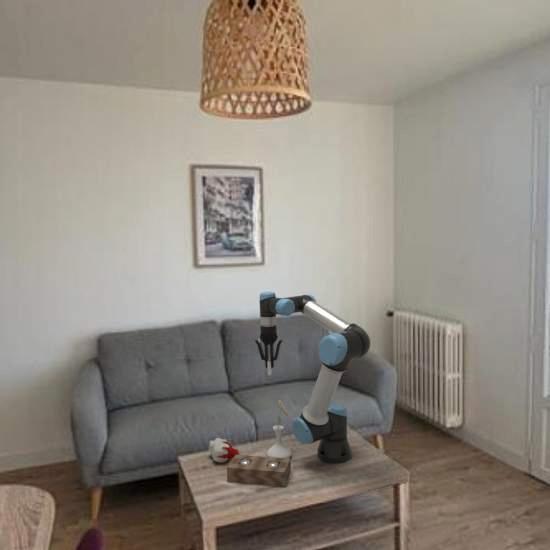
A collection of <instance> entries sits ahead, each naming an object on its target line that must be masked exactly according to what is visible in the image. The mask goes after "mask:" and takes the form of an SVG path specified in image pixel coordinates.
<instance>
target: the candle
mask: <svg viewBox="0 0 550 550" xmlns="http://www.w3.org/2000/svg"><path fill="white" fill-rule="evenodd" d="M208 442H209V444H208V445H209V446H208V452H209V453H210V454H211V456H212V460H213V461H214V462H216V463H219V464H224V463H227V462H229V460H232V459H233V458H234V456H235V455H240V452H239V449H238V448H234V447H233V446H232V445H231V443H230V442H228V441H227V439H225V438H224V439H223V438H220V437H216V438H214V440H210V441H208Z"/></svg>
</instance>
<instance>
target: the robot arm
mask: <svg viewBox="0 0 550 550" xmlns="http://www.w3.org/2000/svg"><path fill="white" fill-rule="evenodd" d="M296 313H301V314H303V315H305V316H307V318H309V319H310V320H312V321H314V322H315V323H316V324H318V325H320V326H321V327H323V329H325V330H327V331H328V332H331V334H328V335H325V336H324V337H322V339H321V340H320V342H319V343H318V349H317V350H318V351H317V352H319V353H318V356H319V359H320V364H321V368H320V371H319V372H318V373H319V374H318V377H317V379H316V382H315V384H314V386H313V389H312V390H313V391H312V393H311V396H310V399H309V401H308V403H307V405H306V406H304V407H303V408H302V410H301V413H300V416H297V417H295V418H294V419H293V420H292V424H291V428H292V432H293V435H294V436H295V437H294V438H295V439H297V441H298V442H299V443H300V444H303V445H311V444H313V443H315V442H317V441H318V442H319V444H318V447H317V458H319V459H320V460H321V461H323V462H327V463H331V464H332V463H334V464H337V463H338V464H339V463H344V462H347V461H349V460H351V458H352V448H351V446H350V443H349V441H348V414H347V412H348V411H347V408H346V407H345V405H342V404H339V403H333V402H332V401H333V399H334V396H335V394H336V392H337V388H338V386H339V384H340V383H339V382H340V380H341V377H342V375H343V373H345V372H347V371H348V370H349V367H350V364H351V363H352V361H354V360H357V359H361V358H363V357H365V356H366V355H367V354H368V353H369V351H370V349H371V338H370V336H369V333H367V331H366V330H365V329H364V328H363V327H361V326H359V325H358V324H356V323H351V322H348V321H347V320H345V319H343V318H342V317H340V316H339V315H337V314H335V313H334V312H332V311H331V310H329V309H328V308H325V307H324V306H322V305H320V304H319V303H318V302H317V301H316V299H315V297H314V296H313V295H312V294H302V295H296V296H295V295H294V296H288V297H277V296H276V293H275V292H274V291H262V292H260V293H259V320H260V321H259V322H260V323H259V324H260V329H259V330H260V335H259V338H256V339H255V340H254V342H255V343H256V345H257V348H258V352H259V356H260V360H262V361H264V362H265V363H264V364H265V365H264V366H265V368H266V369H267V376H272V374H273V368H274V366H275V362H274V361H277V360H278V359H279V353H280V348H281V344H282V343H283V339H280V337H279V336H278V333H277V329H278V328H277V315H278V316H283V317H289V316H291V315H292V314H296ZM262 343H263V344H264V345H262ZM275 343H277V344H276V349H275V350H274V346H275V345H274V344H275ZM263 346H264V349H263ZM269 357H270V358H269Z"/></svg>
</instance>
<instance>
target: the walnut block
mask: <svg viewBox="0 0 550 550" xmlns="http://www.w3.org/2000/svg"><path fill="white" fill-rule="evenodd" d="M244 459H248V460H250V465H242V464H240V461H241V460H244ZM270 462H277V463H278V467H268V464H269V463H270ZM291 464H292V461H291V458H275V457H268V456H259V455H249V454H248V455H247V454H239V455H235V456H234V458H231V461H230V462H229V463H228V465H227V466H226V479H227V480H226V481H227V482H228V483H229V482H230V483H239V484H250V485H263V486H271V487H273V486H274V487H283V488H285V487H286V485H287V483H288V480H289V479H290V475H291V473H292V465H291Z"/></svg>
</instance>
